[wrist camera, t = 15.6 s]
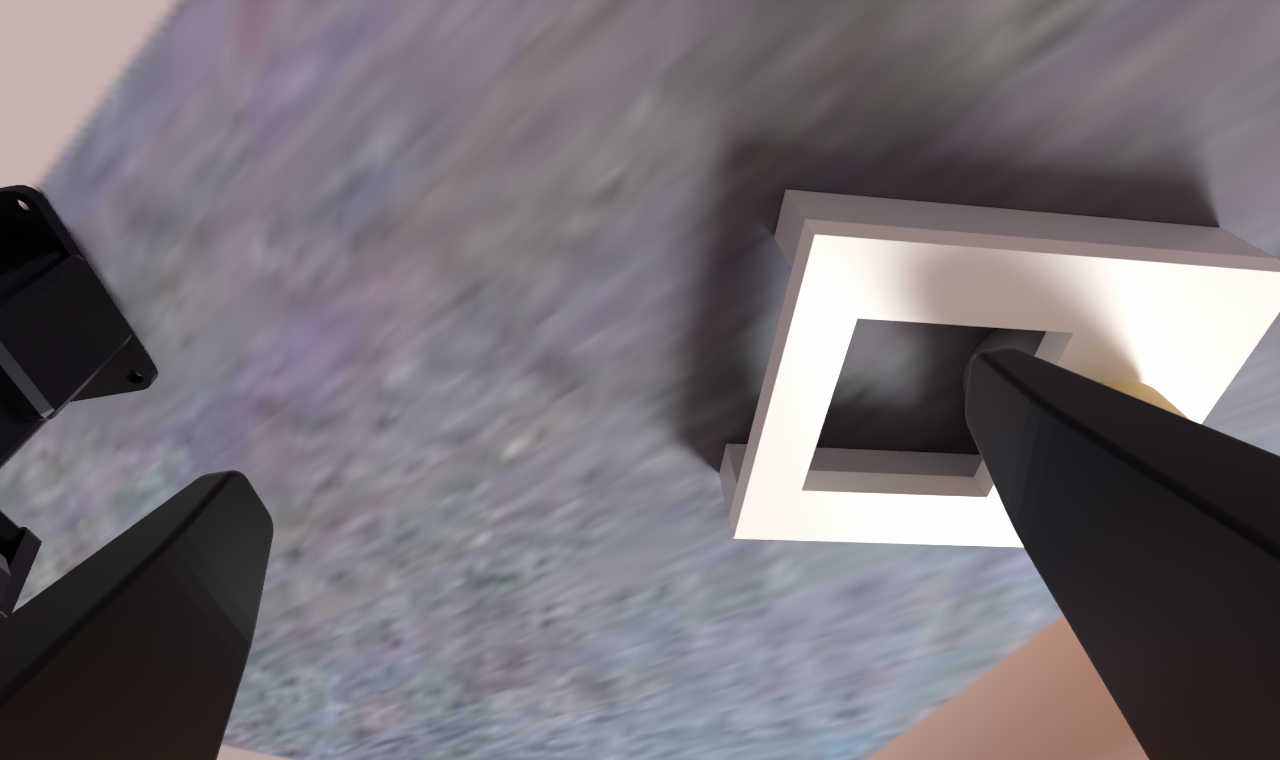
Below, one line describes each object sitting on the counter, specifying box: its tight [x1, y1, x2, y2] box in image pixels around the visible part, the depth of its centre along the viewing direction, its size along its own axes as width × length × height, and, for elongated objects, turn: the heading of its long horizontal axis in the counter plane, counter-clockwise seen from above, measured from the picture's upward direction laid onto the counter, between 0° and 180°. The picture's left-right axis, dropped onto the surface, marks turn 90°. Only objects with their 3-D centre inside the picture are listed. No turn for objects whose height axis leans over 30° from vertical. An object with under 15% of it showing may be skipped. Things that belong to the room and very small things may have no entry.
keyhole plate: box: [719, 189, 1280, 547], centre depth 23 cm, size 14×11×3 cm
